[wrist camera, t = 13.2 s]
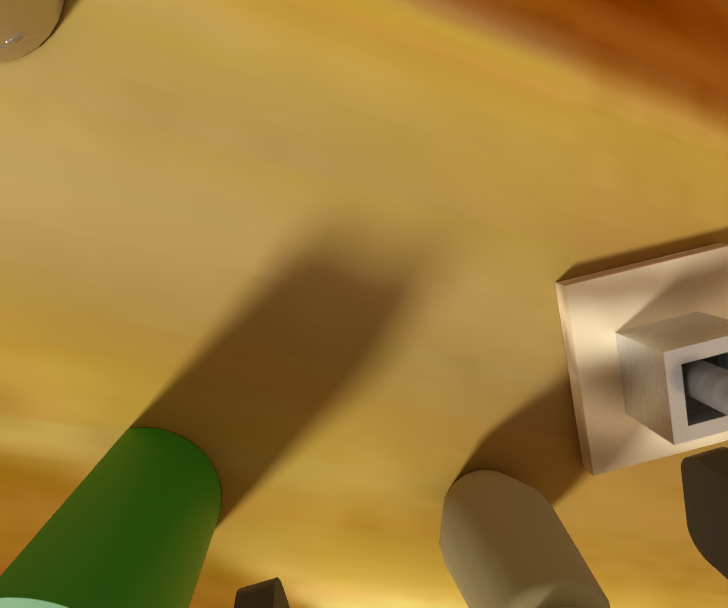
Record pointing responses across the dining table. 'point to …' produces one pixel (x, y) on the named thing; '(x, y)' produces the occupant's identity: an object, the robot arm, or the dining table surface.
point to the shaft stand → (600, 356)
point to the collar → (671, 374)
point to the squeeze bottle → (512, 547)
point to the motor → (124, 531)
